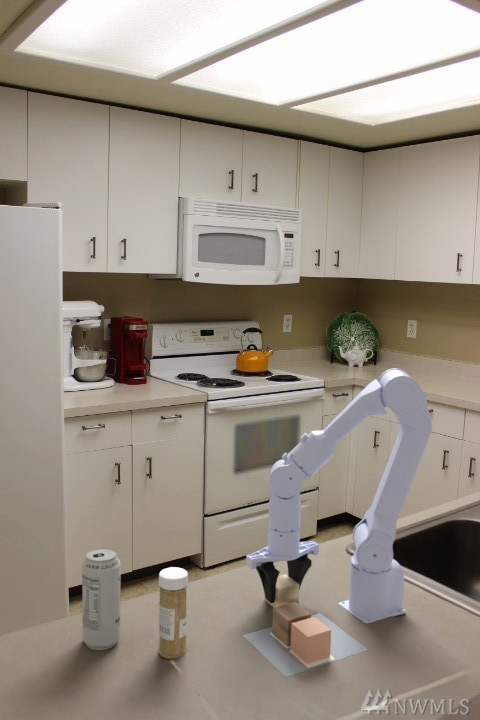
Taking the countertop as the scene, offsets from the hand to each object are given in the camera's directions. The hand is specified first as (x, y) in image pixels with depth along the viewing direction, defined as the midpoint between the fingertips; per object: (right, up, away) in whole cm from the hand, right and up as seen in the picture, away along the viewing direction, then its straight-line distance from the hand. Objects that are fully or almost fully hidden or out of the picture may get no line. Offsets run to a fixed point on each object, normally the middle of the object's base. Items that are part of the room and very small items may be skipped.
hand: (281, 597), depth 123 cm
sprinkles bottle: (-18, -3, -16) cm, 25 cm away
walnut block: (+1, -2, -11) cm, 12 cm away
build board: (+3, -3, -13) cm, 14 cm away
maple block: (0, -1, 0) cm, 1 cm away
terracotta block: (+4, -3, -16) cm, 17 cm away
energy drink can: (-30, -3, -14) cm, 33 cm away
